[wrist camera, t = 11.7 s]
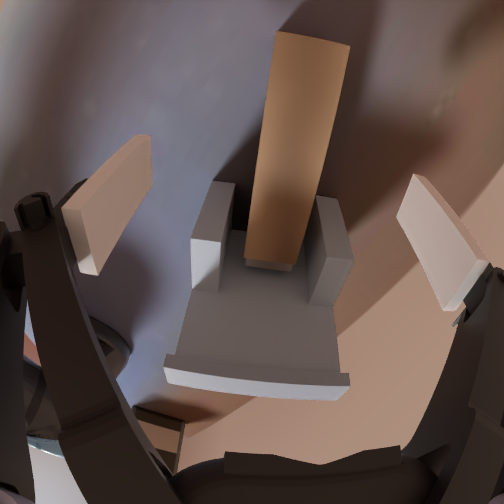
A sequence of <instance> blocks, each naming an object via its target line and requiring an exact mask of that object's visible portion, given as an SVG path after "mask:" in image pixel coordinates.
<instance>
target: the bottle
mask: <svg viewBox="0 0 504 504" xmlns="http://www.w3.org/2000/svg"><path fill="white" fill-rule="evenodd" d="M131 410H132V412H133V413H134V415H135V417H136V419H137V421H138V422H139V424H140V426H141V427H142V429H143V431H144V432H145V434H146V436H147V437H148V439H149V440H150V442H151V443H152V445H153V446H154V448H155V449H156V450H157V452H158V453H159V455H160V456H161V458H162V459H163V461H164V462H165V464H166V465H167V467H168V468H169V469H170V471H171V472H172V474H173V475H175V474H177V468H178V462H179V456H180V451H181V445H182V439H183V434H184V428H185V423H184V421H183V420H179V419H175V418H172V417H168V416H165V415H161V414H158V413H155V412H151V411H148V410H145V409H142V408H139V407H136V406H134V407H133V408H132V409H131Z"/></svg>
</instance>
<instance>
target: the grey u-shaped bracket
mask: <svg viewBox="0 0 504 504" xmlns="http://www.w3.org/2000/svg"><path fill="white" fill-rule="evenodd" d="M234 193H235V183H228V182H220V181H212V183H211V185H210V188H209V191H208V193H207V196H206V198H205V201H204V204H203V206H202V209H201V211H200V214H199V217H198V219H197V222H196V225H195V228H194V230H193V233H192V236H191V270H192V292H191V296H190V300H189V303H188V307H187V311H186V314H185V318H184V322H183V326H182V330H181V334H180V338H179V342H178V345H177V349H176V353H175V355H171V354H166V358H165V362H164V366H163V368H164V371H165V375H166V378H167V381H168V383H171V384H176V385H181V386H187V387H193V388H199V389H205V390H211V391H218V392H225V393H233V394H241V395H251V396H261V397H272V398H286V399H304V400H338V398H339V397H340V396H341V395H342V394H343V393H344V392H345V391H346V390H347V389H348V388H349V387H350V379H349V373H340V364H339V354H338V344H337V335H336V326H335V318H334V310H333V306H334V304H335V302H336V300H337V298H338V296H339V293H340V291H341V289H342V287H343V285H344V283H345V281H346V278H347V276H348V274H349V272H350V270H351V267H352V265H353V263H354V261H355V260H354V256H353V252H352V248H351V245H350V241H349V237H348V234H347V230H346V227H345V223H344V220H343V216H342V213H341V209H340V206H339V203H338V199H335V198H330V197H324V196H318V195H316V196H315V199H314V203H313V207H312V211H311V214H310V218H309V222H308V225H307V229H306V232H305V236H304V239H303V241H302V245H301V248H300V252H299V255H298V258H297V262H296V265H293V266H292V270H291V272H288V271H280V270H273V269H265V268H258V267H250V266H245V263H246V258H244V251H245V244H246V236H247V231H239V230H232V229H231V225H232V214H233V203H234Z"/></svg>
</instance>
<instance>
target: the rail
mask: <svg viewBox="0 0 504 504" xmlns="http://www.w3.org/2000/svg"><path fill="white" fill-rule="evenodd" d="M349 50H350V46H348V45H344V44H340V43H336V42H332V41H328V40H323V39H319V38H314V37H309V36H304V35H299V34H293V33H287V32H280V31H276V35H275V41H274V48H273V55H272V61H271V68H270V75H269V82H268V88H267V95H266V102H265V109H264V116H263V123H262V130H261V137H260V144H259V151H258V158H257V165H256V172H255V179H254V186H253V193H252V200H251V207H250V215H249V222H248V229H247V236H246V244H245V251H244V258H246V263H245V266H250V267H258V268H265V269H273V270H280V271H288V272H291V270H292V266H293V265H296V262H297V258H298V255H299V252H300V248H301V245H302V241H303V238H304V234H305V231H306V227H307V224H308V220H309V217H310V213H311V209H312V206H313V202H314V198H315V195H316V191H317V187H318V183H319V179H320V176H321V172H322V168H323V164H324V160H325V156H326V152H327V148H328V144H329V140H330V136H331V132H332V128H333V123H334V119H335V115H336V111H337V106H338V102H339V97H340V93H341V88H342V84H343V79H344V75H345V70H346V65H347V60H348V55H349Z"/></svg>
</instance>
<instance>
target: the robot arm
mask: <svg viewBox="0 0 504 504" xmlns="http://www.w3.org/2000/svg"><path fill="white" fill-rule="evenodd" d="M151 187H152V167H151V140H150V135H135V136H134V137H133V138H131V139H130V140H129V141H128V142H127V143H126V144H125V145H123V146H122V147H121V148H120V149H119V150H118V151H117V152H116V153H115V154H114V155H113V156H111V157H110V158H109V159H108V160H107V161H106V162H105V163H104V164H103V165H102V166H101V167H100V168H99V169H98V170H97V171H96V172H95V173H94V174H93V175H92V176H91V177H90V178H89V179H84V180H82V181H81V182H79V183H77V184H76V185H75V186H74V187H73V188H72V189H71V190H70V191H69V192H68V193H67V194H66V195H65V196H64V198H62V199H61V200H60V202H59V203H58V204H57V205H56V206H55V207H54V208H52V204H51V200H50V196H49V195H48V193H45V192H37V193H33V194H30V195H28V196H26V197H24V198H23V199H21V200H20V201H19V202H18V203H17V204H16V206H15V209H14V211H15V214H16V217H17V220H18V222H19V225H20V228H21V231H15V232H9V231H8V228H7V226H6V224H5V222H1V221H0V504H35V490H34V479H33V473H32V466H31V461H30V454H29V447H28V445H29V446H31V447H34V448H37V449H39V450H42V451H44V452H46V453H49V454H52V455H55V456H58V457H61V458H65V460H66V462H67V464H68V466H69V469H70V471H71V473H72V475H73V477H74V479H75V481H76V483H77V485H78V487H79V489H80V491H81V492H82V494H83V496H84V498H85V500H86V501H87V503H88V504H504V270H503V269H501V268H498V267H496V268H493V266H492V265H491V263H490V261H489V259H488V258H487V256H486V255H485V253H484V252H483V250H482V249H481V247H480V246H479V245H478V243H477V242H476V240H475V239H474V237H473V236H472V234H471V233H470V232H469V230H468V229H467V228H466V226H465V225H464V224H463V222H462V221H461V220H460V218H459V217H458V216H457V215H456V213H455V212H454V211H453V209H452V208H451V207H450V206H449V204H448V203H447V202H446V201H445V200H444V198H443V197H442V196H441V195H440V194H439V192H438V191H437V190H436V189H435V188H434V187H433V185H432V184H431V183H430V182H429V181H428V180H427V179H426V178H425V177H424V176H420V175H417V174H413V176H412V178H411V181H410V184H409V186H408V189H407V191H406V194H405V197H404V199H403V202H402V204H401V206H400V209H399V211H398V214H397V216H396V218H397V220H398V221H399V223H400V225H401V227H402V229H403V230H404V232H405V234H406V236H407V238H408V240H409V241H410V243H411V245H412V247H413V249H414V251H415V253H416V255H417V257H418V259H419V261H420V263H421V265H422V267H423V268H424V271H425V273H426V275H427V277H428V279H429V281H430V283H431V286H432V288H433V290H434V292H435V294H436V296H437V299H438V301H439V304H440V306H441V308H442V310H443V311H456V309H457V308H458V307H459V305H460V304H461V303H462V301H464V303H465V305H466V308H465V309H464V310H463V312H462V313H461V314H460V315H459V317H458V318H457V319H456V320H455V322H454V323H453V324H452V326H453V327H454V326H455V324H458V327H457V330H456V334H455V337H454V340H453V343H452V346H451V349H450V352H449V355H448V358H447V360H446V364H445V366H444V369H443V371H442V374H441V376H440V379H439V381H438V384H437V386H436V389H435V391H434V393H433V396H432V398H431V400H430V403H429V405H428V407H427V409H426V411H425V414H424V416H423V418H422V420H421V422H420V424H419V426H418V428H417V430H416V432H415V434H414V436H413V437H412V439H411V441H410V442H409V443H408V445H407V446H406V447H405V448H404V449H403V450H401V449H400V445H398V446H392V447H387V448H379V449H373V450H364V451H362V452H359V453H356V454H353V455H350V456H348V457H345V458H342V459H339V460H336V461H333V462H330V463H327V464H323V465H317V464H312V463H307V462H302V461H298V460H293V459H289V458H285V457H281V456H277V455H273V454H251V453H250V454H249V453H237V452H225V454H224V458H220V459H213V460H209V461H205V462H201V463H198V464H195V465H192V466H190V467H188V468H186V469H184V470H181V471H180V472H178V473H177V474H175V475H173V474H172V472H171V471H170V469H169V468H168V467H167V465H166V464H165V462H164V461H163V459H162V458H161V456H160V455H159V453H158V452H157V450H156V449H155V448H154V446H153V445H152V443H151V442H150V440H149V439H148V437H147V436H146V434H145V432H144V431H143V429H142V427H141V426H140V424H139V422H138V421H137V419H136V417H135V415H134V413H133V412H132V410H131V408H130V406H129V404H128V402H127V401H126V399H125V397H124V395H123V393H122V391H121V389H120V387H119V385H118V383H117V381H116V378H117V377H118V375H119V374H120V373H121V372H122V370H123V369H124V368H125V366H126V365H127V362H128V359H129V356H130V349H129V347H128V345H127V344H126V342H125V341H124V340H123V339H122V338H121V337H120V336H119V335H118V334H117V333H116V332H114V331H113V330H112V329H110V328H109V327H107V326H106V325H104V324H102V323H100V322H99V321H97V320H95V319H93V318H90V317H88V314H87V311H86V309H85V306H84V303H83V300H82V297H81V294H80V292H79V289H78V286H77V282H76V279H75V276H74V273H73V271H72V267H73V266H74V264H75V262H76V261H77V263H78V266H79V269H80V272H81V273H85V274H91V275H97V276H98V275H99V273H100V272H101V270H102V268H103V266H104V264H105V262H106V260H107V259H108V257H109V255H110V253H111V252H112V250H113V248H114V246H115V245H116V243H117V241H118V239H119V238H120V236H121V234H122V233H123V231H124V229H125V228H126V226H127V224H128V223H129V221H130V219H131V218H132V216H133V215H134V213H135V211H136V210H137V208H138V207H139V205H140V203H141V202H142V200H143V199H144V197H145V196H146V194H147V193H148V191H149V190H150V188H151ZM27 299H28V306H29V312H30V318H31V323H32V328H33V333H34V338H35V342H36V347H37V351H38V355H39V359H40V363H41V367H40V366H39V365H38V364H36V363H35V362H34V361H32V360H31V359H29V358H28V357H27V356H26V355H24V354H23V348H24V329H25V317H26V307H27Z"/></svg>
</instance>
